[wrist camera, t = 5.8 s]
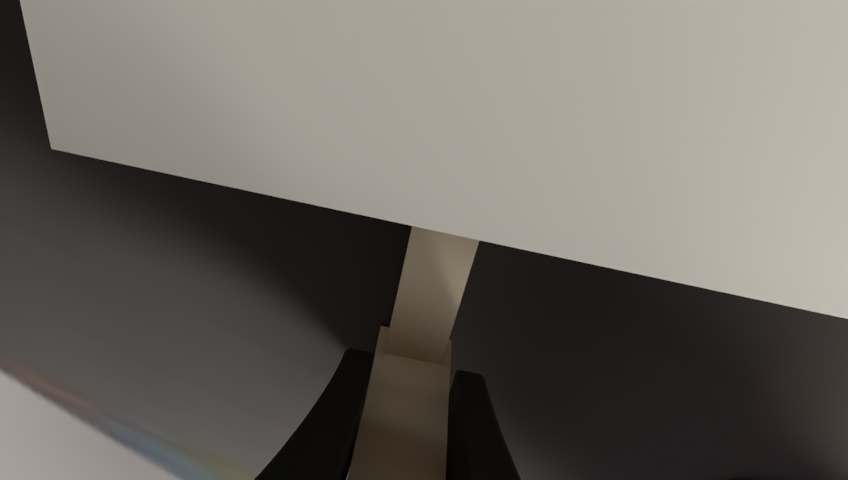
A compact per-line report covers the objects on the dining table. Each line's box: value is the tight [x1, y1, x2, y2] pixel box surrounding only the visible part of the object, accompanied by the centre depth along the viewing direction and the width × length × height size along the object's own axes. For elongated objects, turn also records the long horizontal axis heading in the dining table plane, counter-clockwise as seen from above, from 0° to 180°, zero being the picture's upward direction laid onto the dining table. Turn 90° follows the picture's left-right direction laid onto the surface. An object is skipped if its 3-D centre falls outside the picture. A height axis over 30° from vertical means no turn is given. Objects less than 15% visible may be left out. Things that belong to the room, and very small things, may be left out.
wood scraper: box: [347, 226, 479, 480], centre depth 9 cm, size 14×6×6 cm, turn 169°
